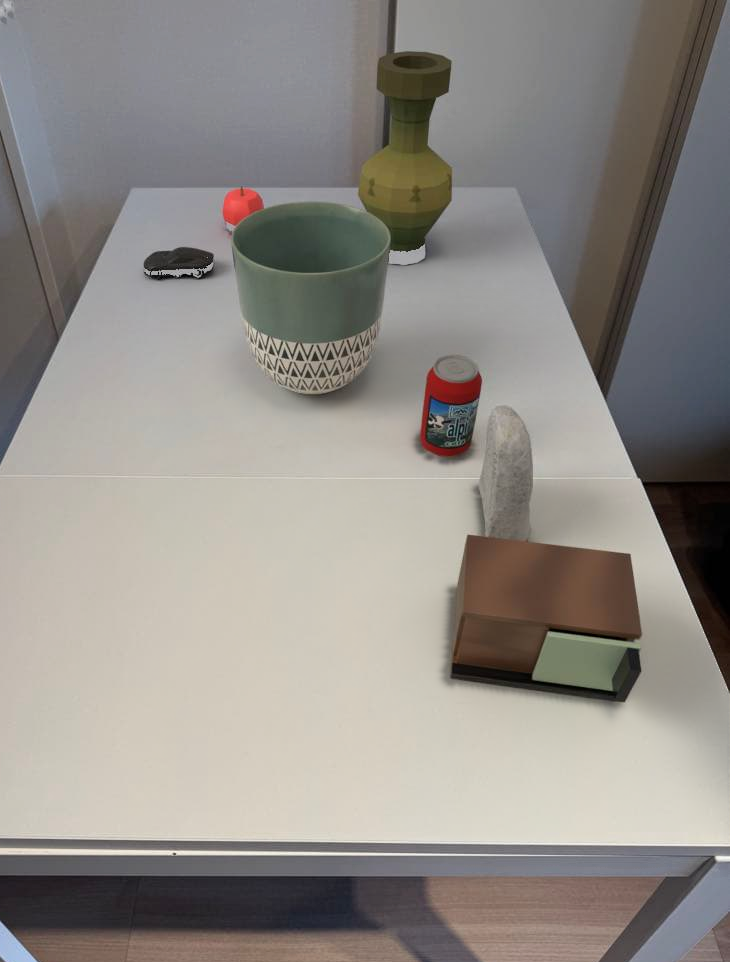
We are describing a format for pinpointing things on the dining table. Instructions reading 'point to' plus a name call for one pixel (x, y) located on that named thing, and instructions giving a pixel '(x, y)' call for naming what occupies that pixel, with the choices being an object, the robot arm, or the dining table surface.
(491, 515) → the decorative stone
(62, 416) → the dining table surface
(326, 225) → the planter
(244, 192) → the apple
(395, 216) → the vase
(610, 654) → the sliding cabinet door
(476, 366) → the beverage can
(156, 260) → the toy car
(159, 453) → the dining table surface
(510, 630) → the cabinet
